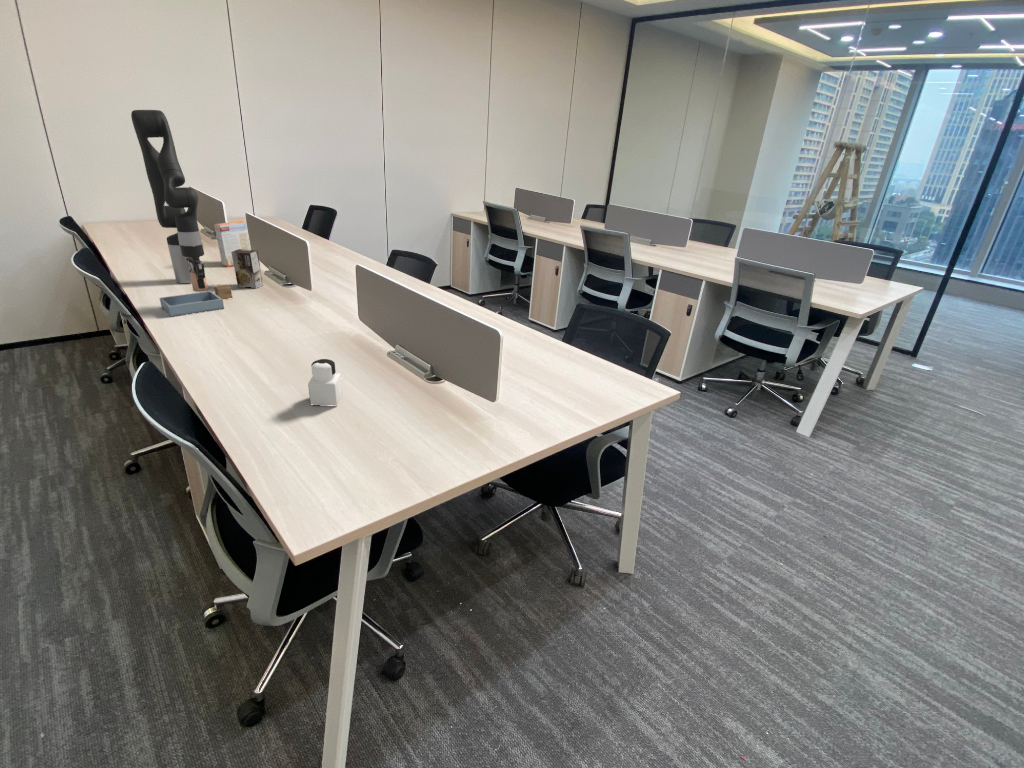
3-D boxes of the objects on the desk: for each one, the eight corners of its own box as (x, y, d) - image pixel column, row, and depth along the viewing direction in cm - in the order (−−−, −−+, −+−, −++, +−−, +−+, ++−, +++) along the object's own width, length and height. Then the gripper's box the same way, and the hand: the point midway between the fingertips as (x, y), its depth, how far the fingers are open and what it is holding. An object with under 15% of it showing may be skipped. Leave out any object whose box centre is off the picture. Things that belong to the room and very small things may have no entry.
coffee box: (263, 285, 237) (258, 250, 230) (256, 288, 231) (250, 253, 224) (245, 283, 238) (239, 248, 231) (236, 287, 232) (230, 251, 225)
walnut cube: (216, 297, 217) (213, 286, 215) (228, 295, 221) (226, 284, 218) (219, 300, 214) (217, 288, 212) (232, 298, 218) (230, 287, 215)
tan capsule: (191, 289, 203) (187, 271, 200) (205, 287, 206) (202, 270, 203) (195, 292, 200) (191, 274, 197) (209, 290, 203) (206, 273, 200)
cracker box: (247, 261, 274) (241, 221, 265) (253, 263, 271) (247, 222, 262) (221, 265, 264) (213, 223, 254) (227, 267, 260) (219, 225, 251)
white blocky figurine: (317, 394, 147) (312, 356, 141) (342, 395, 147) (339, 356, 142) (310, 406, 140) (305, 366, 135) (337, 406, 141) (333, 367, 136)
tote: (161, 307, 202) (159, 297, 200) (213, 300, 214) (211, 290, 212) (171, 317, 193) (168, 307, 191) (224, 308, 205) (222, 299, 203)
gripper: (174, 240, 197) (184, 283, 204) (185, 247, 188) (194, 292, 195) (196, 239, 202) (204, 281, 209) (207, 245, 193) (216, 289, 200)
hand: (199, 286), depth 202 cm, fingers closed on tan capsule, 5 cm apart
